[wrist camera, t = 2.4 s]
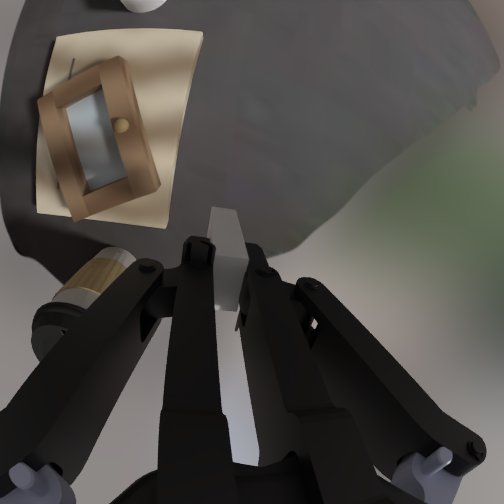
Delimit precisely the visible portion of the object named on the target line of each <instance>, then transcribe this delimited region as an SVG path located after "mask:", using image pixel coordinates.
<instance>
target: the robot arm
mask: <svg viewBox="0 0 504 504" xmlns="http://www.w3.org/2000/svg"><path fill="white" fill-rule="evenodd" d="M238 304H239V305H240V311H239V315H238V319H237V323H236V327H235V331H237V330H238V328H239V329H240V335H241V343H242V349H243V356H244V362H245V368H246V374H247V381H248V387H249V393H250V399H251V405H252V410H253V416H254V422H255V427H256V433H257V439H258V444H259V451H260V452H259V461H258V466H251V465H245V464H240V463H235V462H233V460H232V453H231V445H230V436H229V428H228V421H227V418H226V416H225V415H224V414H223V413H222V407H221V395H220V383H219V370H218V356H217V340H216V323H215V310H226V311H237V308H238ZM164 317H172V325H171V331H170V339H169V348H168V356H167V364H166V374H165V384H164V396H163V407H162V410H161V414H160V424H159V441H158V469H157V470H155V471H152V472H150V473H148V474H146V475H144V476H142V477H141V478H139V479H137V480H136V481H135V482H134V483H133V484H131V485H130V486H129V487H128V488H127V489H126V490H125V491H123V492H122V493H121V494H120V495H119V496H118V497H117V498H115V499H114V500H113V501H112V502H111V503H110V504H452V502H453V500H454V498H455V495H456V493H457V490H458V488H459V485H460V482H461V480H462V477H463V476H464V475H465V474H467V473H468V472H470V471H471V470H473V469H474V468H475V467H477V466H478V465H480V464H481V463H482V462H483V461H484V460H485V457H486V446H485V443H484V441H483V439H482V438H481V437H480V436H479V435H477V434H476V433H474V432H473V431H471V430H470V429H468V428H467V427H465V426H464V425H462V424H460V423H459V422H457V421H456V420H455V419H453V418H452V417H450V416H449V415H447V414H446V413H444V412H443V411H442V410H441V409H440V408H439V407H438V406H437V404H436V403H435V402H434V401H433V400H432V399H431V398H430V397H429V396H428V394H427V393H426V392H425V391H424V390H423V389H422V388H421V387H420V386H419V384H418V383H417V382H416V381H415V380H414V379H413V378H412V377H411V376H410V375H409V374H408V372H407V371H406V370H405V369H404V368H403V367H402V366H401V365H400V364H399V363H398V362H397V361H396V360H395V358H394V357H393V356H392V355H391V354H390V353H389V352H388V351H387V350H386V349H385V348H384V347H383V346H382V345H381V344H380V342H379V341H378V340H377V339H376V338H375V337H374V336H373V335H372V334H371V333H370V332H369V331H368V330H367V329H366V328H365V327H364V326H363V325H362V324H361V323H360V322H359V320H358V319H357V318H356V317H355V316H354V315H353V314H352V313H351V312H350V311H349V310H348V309H347V308H346V307H345V306H344V305H343V304H342V303H341V302H340V301H339V300H338V299H337V298H336V297H335V296H334V295H333V294H332V293H331V292H330V291H329V290H328V289H327V288H326V287H325V286H324V285H323V284H322V283H321V282H319V281H317V280H316V279H313V278H310V277H308V278H307V277H302V278H299V279H298V280H297V282H296V285H294V284H291V283H287V282H284V281H282V280H281V277H280V275H279V273H278V272H277V271H276V270H275V269H273V268H271V267H269V265H268V263H267V260H266V258H265V255H264V252H263V250H262V248H261V247H260V246H258V245H257V244H253V243H246V242H244V239H243V235H242V231H241V228H240V224H239V220H238V217H237V213H236V210H232V209H225V208H219V207H212V209H211V215H210V221H209V227H208V233H207V238H205V237H197V236H190V237H189V238H188V239H187V240H186V241H185V242H184V244H183V252H182V261H181V265H180V266H178V267H176V268H172V269H164V267H163V265H162V264H161V263H160V262H159V261H156V260H154V259H149V258H146V259H145V258H143V259H139V260H136V261H134V262H133V263H132V264H131V265H130V266H128V267H127V268H126V269H125V270H124V271H123V272H122V273H121V274H120V275H119V276H118V277H117V278H116V279H115V280H114V281H113V282H112V283H111V284H110V285H109V286H108V287H107V288H106V289H105V290H104V291H103V292H102V294H101V295H100V296H99V297H98V298H97V299H96V300H95V301H94V302H93V303H92V304H91V305H90V306H89V307H88V308H87V309H86V310H85V311H84V312H83V314H82V315H81V316H80V317H79V318H78V319H77V320H76V321H75V322H74V323H73V325H72V326H71V327H70V328H69V329H68V330H67V331H66V332H65V334H64V335H63V336H62V337H61V338H60V339H59V340H58V342H57V343H56V344H55V345H54V346H53V347H52V349H51V350H50V351H49V352H48V353H47V355H46V356H45V357H44V358H43V359H42V361H41V362H40V363H39V365H38V366H37V367H36V368H35V369H34V371H33V372H32V373H31V374H30V376H29V377H28V378H27V380H26V381H25V382H24V383H23V385H22V386H21V388H20V389H19V390H18V391H17V393H16V394H15V396H14V397H13V398H12V400H11V401H10V403H9V404H8V405H7V407H6V408H4V409H3V410H2V411H0V504H76V498H75V494H74V492H73V490H72V488H71V487H70V485H71V484H72V483H73V482H74V480H75V479H76V477H77V476H78V475H79V474H80V472H81V471H82V469H83V467H84V465H85V463H86V462H87V460H88V458H89V456H90V454H91V452H92V449H93V447H94V445H95V443H96V441H97V439H98V437H99V435H100V433H101V431H102V429H103V427H104V425H105V423H106V421H107V419H108V417H109V415H110V413H111V411H112V409H113V407H114V406H115V404H116V402H117V400H118V398H119V396H120V394H121V392H122V390H123V389H124V387H125V385H126V383H127V381H128V379H129V378H130V376H131V374H132V372H133V370H134V368H135V366H136V365H137V363H138V361H139V359H140V358H141V356H142V354H143V352H144V350H145V349H146V347H147V345H148V343H149V342H150V340H151V338H152V337H153V335H154V333H155V331H156V330H157V328H158V326H159V324H160V322H161V318H164ZM314 319H315V320H316V321H317V323H318V324H317V327H316V329H314V328H313V327H312V326H311V325H312V322H313V320H314ZM373 465H374V466H375V467H376V468H377V469H378V470H379V471H380V472H381V473H382V474H383V475H384V476H386V477H387V478H388V479H390V480H391V482H388V481H386V480H384V479H383V478H381V477H380V476H378V475H377V473H376V471H375V468H374V466H373Z"/></svg>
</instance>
